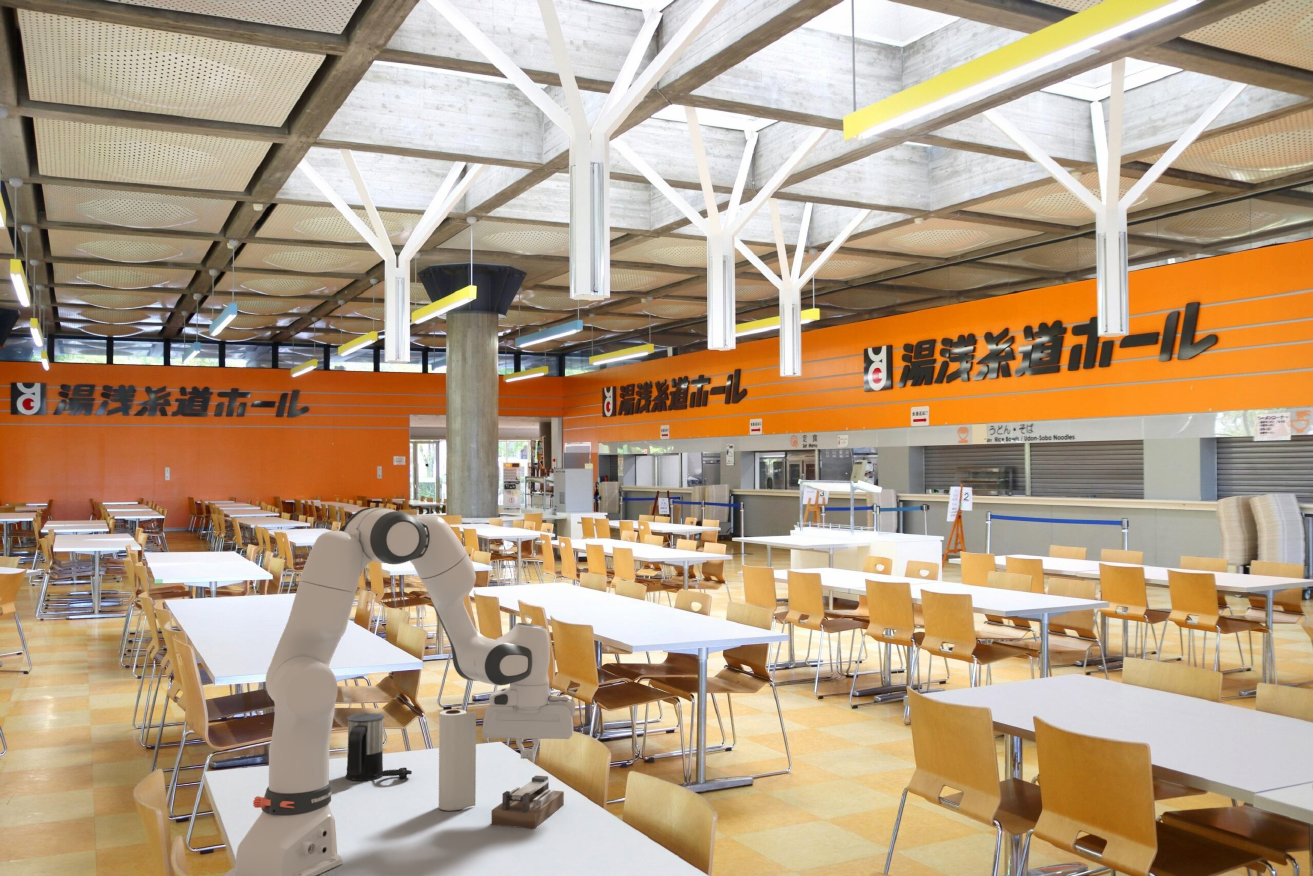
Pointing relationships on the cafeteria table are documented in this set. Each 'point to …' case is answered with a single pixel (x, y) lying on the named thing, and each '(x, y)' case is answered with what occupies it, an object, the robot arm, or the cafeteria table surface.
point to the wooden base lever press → (527, 808)
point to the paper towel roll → (457, 759)
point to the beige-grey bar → (529, 788)
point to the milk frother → (367, 749)
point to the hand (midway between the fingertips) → (527, 758)
